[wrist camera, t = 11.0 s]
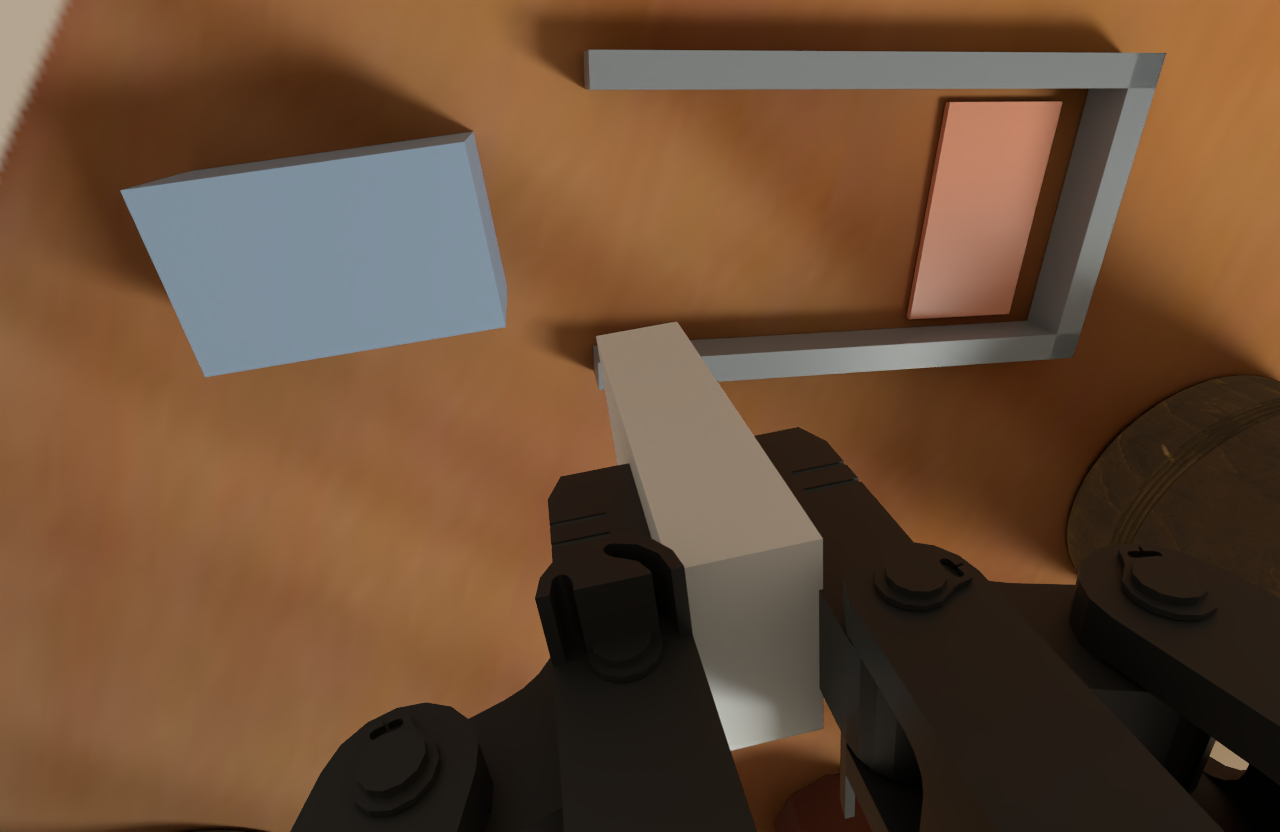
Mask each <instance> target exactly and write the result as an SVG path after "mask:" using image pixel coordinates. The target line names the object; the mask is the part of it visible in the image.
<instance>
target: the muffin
mask: <svg viewBox="0 0 1280 832" xmlns="http://www.w3.org/2000/svg"><path fill="white" fill-rule="evenodd" d="M774 825H775V830H776V832H873V831H872V829H871V827H870V825H869V823H868V821H867V819H866V817H865V815H864V812H863V810H862V808H861V806H860V804H859V802H858V800H857V798H856V796H855V816H854V817H850V818H846V819H845V817H844V813H843V809H842V805H841V800H840V774H836V775H825V776H823V777H822V778H820V779H819V780H817V781H816V782H814V783H813V784H811V785H809V786H808V787H806V788H804V789H802V790H800V791H798V792H796V793H793V794H791V795H790V797H789V799H788V801H787V803H786V805H785V807H784V809H783V810H782V811H781V812H780V814H779V815H778V816H777V817H776V819H775V820H774Z"/></svg>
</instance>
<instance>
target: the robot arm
mask: <svg viewBox="0 0 1280 832" xmlns="http://www.w3.org/2000/svg"><path fill="white" fill-rule="evenodd" d="M596 340H597V346H598V352H599V358H600V363H601V369H602V375H603V381H604V387H605V393H606V399H607V405H608V411H609V417H610V423H611V429H612V435H613V441H614V447H615V452H616V458H617V464H618V465H617V466H612V467H607V468H602V469H597V470H592V471H587V472H582V473H577V474H572V475H567V476H562V477H560V479H559V481H558V483H557V484H556V486H555V488H554V490H553V491H552V493H551V495H550V497H549V499H548V508H549V520H550V533H551V544H552V559H553V562H552V564H551V565H550V566H549V567H548V569H547V570H546V571H545V572H544V574H543V575H542V576H541V577H540V580H539V584H538V588H537V593H536V597H535V600H536V604H537V608H538V611H539V615H540V619H541V623H542V627H543V630H544V634H545V638H546V642H547V646H548V649H549V653H550V659H549V660H548V662H547V663H546V665H545V666H544V667H543V669H542V670H541V672H540V673H539V674H538V675H537V676H536V677H535V678H534V679H533V680H532V681H531V682H530V683H528V684H527V685H526V686H525V687H524V688H523V689H521V690H520V691H518V692H517V693H515V694H514V695H512V696H510V697H509V698H507V699H506V700H504V701H502V702H500V703H498V704H496V705H495V706H493V707H491V708H489V709H487V710H485V711H483V712H481V713H479V714H477V715H475V716H473V717H471V718H470V719H467V718H466V717H465V716H463V715H462V714H460V713H459V712H458V711H456V710H455V709H454V708H452V707H450V706H444V705H438V704H432V703H421V704H416V705H411V706H405V707H400V708H396V709H394V710H392V711H390V712H388V713H386V714H384V715H382V716H380V717H378V718H376V719H374V720H372V721H370V722H368V723H366V724H365V725H364V726H363V727H362V728H360V729H359V730H358V731H357V732H356V733H355V734H353V735H352V736H351V737H350V738H349V739H347V740H346V741H345V742H344V743H343V744H341V746H340V747H339V748H338V750H337V751H336V752H335V754H334V755H333V757H332V758H331V759H330V761H329V762H328V764H327V765H326V766H325V768H324V769H323V771H322V772H321V774H320V776H319V777H318V779H317V781H316V783H315V785H314V787H313V789H312V791H311V793H310V795H309V797H308V799H307V801H306V802H305V804H304V806H303V808H302V810H301V812H300V814H299V816H298V818H297V820H296V822H295V824H294V826H293V827H292V829H291V831H290V832H757V831H756V828H755V825H754V822H753V819H752V816H751V813H750V810H749V806H748V803H747V800H746V797H745V794H744V791H743V788H742V785H741V782H740V779H739V776H738V773H737V769H736V766H735V763H734V760H733V757H732V754H731V751H732V750H736V749H740V748H744V747H748V746H752V745H757V744H761V743H765V742H769V741H773V740H778V739H782V738H786V737H790V736H794V735H798V734H803V733H807V732H811V731H815V730H819V729H823V696H824V698H825V700H826V702H827V704H828V706H829V708H830V710H831V712H832V714H833V716H834V718H835V720H836V722H837V724H838V726H839V728H840V730H841V757H840V800H841V805H842V809H843V813H844V817H845V819H846V818H850V817H854V816H855V796H856V798H857V800H858V802H859V804H860V806H861V808H862V810H863V812H864V815H865V817H866V819H867V821H868V823H869V825H870V827H871V829H872V831H873V832H1280V598H1278V597H1276V596H1274V595H1272V594H1271V593H1269V592H1267V591H1265V590H1263V589H1261V588H1259V587H1257V586H1255V585H1253V584H1251V583H1249V582H1247V581H1245V580H1243V579H1241V578H1239V577H1238V576H1236V575H1234V574H1232V573H1230V572H1228V571H1226V570H1224V569H1222V568H1220V567H1218V566H1216V565H1214V564H1212V563H1209V562H1207V561H1204V560H1202V559H1199V558H1197V557H1194V556H1192V555H1189V554H1187V553H1184V552H1182V551H1178V550H1173V549H1168V548H1164V547H1159V546H1154V545H1149V544H1115V545H1111V546H1107V547H1103V548H1100V549H1096V550H1094V551H1093V552H1091V553H1090V554H1089V555H1088V556H1087V557H1086V558H1084V559H1083V560H1082V561H1081V563H1080V567H1079V572H1078V576H1077V581H1076V585H1060V584H1021V583H1003V582H993V581H988V580H987V579H986V578H985V577H984V576H983V574H982V573H981V572H980V571H979V570H977V569H976V568H975V567H973V566H972V565H971V564H969V563H968V562H967V561H965V560H964V559H963V558H962V557H960V556H959V555H956V554H954V553H951V552H949V551H946V550H944V549H941V548H939V547H936V546H934V545H927V544H921V543H914V542H913V541H912V540H911V539H910V538H909V536H908V535H907V534H906V533H905V532H904V531H903V529H902V528H901V527H900V526H899V525H898V524H897V523H896V521H895V520H894V519H893V518H892V517H891V516H890V514H889V513H888V512H887V511H886V510H885V509H884V507H883V506H882V505H881V504H880V503H879V502H878V501H877V499H876V498H875V497H874V496H873V495H872V494H871V492H870V491H869V490H868V489H867V488H866V487H865V485H864V484H863V483H862V482H858V477H857V476H856V475H855V474H854V473H853V472H852V470H851V469H850V468H849V467H848V466H847V465H844V462H843V460H842V459H841V458H840V456H839V455H838V454H837V453H836V452H835V451H834V450H833V448H832V447H831V446H830V445H829V444H828V443H827V441H825V440H823V439H821V438H819V437H817V436H815V435H813V434H811V433H809V432H807V431H805V430H803V429H801V428H799V427H797V428H792V429H787V430H782V431H777V432H772V433H767V434H762V435H757V436H754V435H753V434H752V432H751V431H750V429H749V428H748V426H747V425H746V423H745V422H744V420H743V419H742V417H741V416H740V414H739V413H738V411H737V410H736V408H735V407H734V405H733V404H732V402H731V401H730V400H729V398H728V397H727V395H726V394H725V392H724V391H723V389H722V388H721V386H720V385H719V383H718V382H717V380H716V379H715V377H714V376H713V374H712V373H711V371H710V370H709V368H708V367H707V365H706V364H705V362H704V361H703V359H702V358H701V356H700V355H699V353H698V352H697V350H696V349H695V347H694V346H693V344H692V343H691V341H690V340H689V338H688V337H687V336H686V334H685V333H684V331H683V330H682V328H681V327H680V325H679V324H678V322H672V323H666V324H660V325H655V326H649V327H644V328H638V329H633V330H627V331H622V332H616V333H611V334H605V335H599V336H596ZM1216 740H1217V741H1218V742H1220V743H1221V744H1222V745H1224V746H1225V747H1227V748H1228V749H1229V750H1231V751H1232V752H1234V753H1235V754H1236V755H1238V756H1239V757H1241V758H1242V759H1243V760H1245V761H1246V762H1248V763H1249V766H1248V768H1247V770H1237V769H1234V768H1231V767H1228V766H1225V765H1223V764H1221V763H1220V762H1218V761H1216V760H1215V759H1213V758H1211V757H1210V756H1209V755H1210V753H1211V750H1212V748H1213V746H1214V743H1215V741H1216ZM195 832H244V831H230V830H210V831H195Z"/></svg>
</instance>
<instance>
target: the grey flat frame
mask: <svg viewBox="0 0 1280 832" xmlns="http://www.w3.org/2000/svg"><path fill="white" fill-rule="evenodd" d="M1165 56H1166V53H1068V52H900V51H733V50H587V51H584V52H583V57H584V87H585V89H588V90H673V89H1044V88H1089V91H1088V94H1087V98H1086V102H1085V106H1084V109H1083V113H1082V117H1081V121H1080V124H1079V128H1078V132H1077V136H1076V139H1075V143H1074V147H1073V151H1072V154H1071V158H1070V162H1069V166H1068V169H1067V173H1066V177H1065V181H1064V184H1063V188H1062V192H1061V196H1060V199H1059V203H1058V207H1057V211H1056V214H1055V218H1054V222H1053V226H1052V229H1051V233H1050V237H1049V241H1048V244H1047V248H1046V252H1045V256H1044V259H1043V263H1042V267H1041V271H1040V274H1039V278H1038V282H1037V286H1036V289H1035V293H1034V297H1033V301H1032V304H1031V308H1030V312H1029V315H1028V319H1027V321H1011V322H994V323H976V324H959V325H942V326H925V327H908V328H890V329H873V330H856V331H839V332H821V333H804V334H787V335H770V336H753V337H735V338H718V339H701V340H690V341H691V343H692V344H693V346H694V347H695V349H696V350H697V352H698V353H699V355H700V356H701V358H702V359H703V361H704V362H705V364H706V365H707V367H708V368H709V370H710V371H711V373H712V374H713V376H714V377H715V379H716V380H717V382H721V381H736V380H751V379H766V378H781V377H795V376H810V375H825V374H840V373H854V372H869V371H884V370H899V369H914V368H928V367H943V366H958V365H973V364H987V363H1002V362H1017V361H1032V360H1047V359H1061V358H1073V356H1074V353H1075V349H1076V346H1077V343H1078V340H1079V336H1080V333H1081V330H1082V327H1083V323H1084V320H1085V317H1086V314H1087V310H1088V307H1089V304H1090V300H1091V297H1092V294H1093V291H1094V287H1095V284H1096V281H1097V278H1098V274H1099V271H1100V268H1101V265H1102V261H1103V258H1104V255H1105V252H1106V248H1107V245H1108V242H1109V238H1110V235H1111V232H1112V229H1113V225H1114V222H1115V219H1116V216H1117V212H1118V209H1119V206H1120V203H1121V199H1122V196H1123V193H1124V189H1125V186H1126V183H1127V180H1128V176H1129V173H1130V170H1131V167H1132V163H1133V160H1134V157H1135V154H1136V150H1137V147H1138V144H1139V141H1140V137H1141V134H1142V131H1143V127H1144V124H1145V121H1146V118H1147V114H1148V111H1149V108H1150V105H1151V101H1152V98H1153V95H1154V92H1155V88H1156V85H1157V82H1158V79H1159V75H1160V72H1161V69H1162V65H1163V62H1164V59H1165ZM1062 103H1063V102H1062V101H1026V102H946V104H945V110H944V115H943V120H942V126H941V131H940V137H939V142H938V148H937V153H936V159H935V164H934V170H933V175H932V181H931V186H930V191H929V197H928V202H927V208H926V213H925V219H924V224H923V230H922V235H921V241H920V246H919V252H918V257H917V262H916V268H915V273H914V279H913V284H912V290H911V295H910V301H909V306H908V312H907V318H908V319H925V318H943V317H961V316H979V315H996V314H1009V312H1010V308H1011V304H1012V300H1013V296H1014V292H1015V288H1016V284H1017V281H1018V277H1019V273H1020V269H1021V265H1022V261H1023V257H1024V253H1025V249H1026V245H1027V241H1028V237H1029V233H1030V229H1031V225H1032V221H1033V217H1034V213H1035V209H1036V205H1037V202H1038V198H1039V194H1040V190H1041V186H1042V182H1043V178H1044V174H1045V170H1046V166H1047V162H1048V158H1049V154H1050V150H1051V146H1052V142H1053V138H1054V134H1055V130H1056V126H1057V123H1058V119H1059V115H1060V111H1061V107H1062ZM593 355H594V373H595V377H596V381H597V384H598V388H599V390H603V389H605V387H604V381H603V375H602V369H601V363H600V358H599V352H598V346H593Z"/></svg>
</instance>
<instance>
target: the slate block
mask: <svg viewBox="0 0 1280 832" xmlns="http://www.w3.org/2000/svg"><path fill="white" fill-rule="evenodd" d="M120 191H121V194H122V196H123V198H124V200H125V202H126V205H127V207H128V209H129V211H130V213H131V216H132V218H133V220H134V222H135V224H136V226H137V229H138V231H139V233H140V235H141V237H142V240H143V242H144V244H145V246H146V248H147V251H148V253H149V255H150V257H151V259H152V262H153V264H154V266H155V268H156V270H157V272H158V275H159V277H160V279H161V281H162V283H163V286H164V288H165V290H166V292H167V294H168V297H169V299H170V301H171V303H172V305H173V308H174V310H175V312H176V314H177V316H178V318H179V321H180V323H181V325H182V327H183V329H184V332H185V334H186V336H187V338H188V340H189V343H190V345H191V347H192V349H193V351H194V354H195V356H196V358H197V360H198V362H199V365H200V367H201V369H202V371H203V373H204V375H205V377H209V376H215V375H221V374H227V373H233V372H239V371H245V370H251V369H257V368H263V367H269V366H275V365H281V364H287V363H293V362H299V361H305V360H311V359H317V358H323V357H329V356H335V355H341V354H347V353H353V352H359V351H365V350H371V349H377V348H383V347H389V346H395V345H401V344H407V343H413V342H419V341H425V340H431V339H437V338H443V337H449V336H455V335H461V334H467V333H473V332H479V331H485V330H491V329H497V328H503V327H506V308H507V285H506V280H505V276H504V271H503V266H502V262H501V257H500V253H499V248H498V243H497V239H496V234H495V229H494V225H493V220H492V215H491V211H490V206H489V202H488V197H487V192H486V188H485V183H484V178H483V174H482V169H481V165H480V160H479V155H478V151H477V146H476V141H475V137H474V132H465V133H458V134H451V135H444V136H437V137H430V138H423V139H416V140H408V141H401V142H394V143H387V144H380V145H373V146H366V147H358V148H351V149H344V150H337V151H330V152H323V153H316V154H309V155H301V156H294V157H287V158H280V159H273V160H266V161H259V162H251V163H244V164H237V165H230V166H223V167H216V168H209V169H202V170H194V171H189V172H185V173H181V174H178V175H174V176H171V177H167V178H163V179H160V180H156V181H152V182H149V183H145V184H141V185H138V186H134V187H130V188H127V189H123V190H120Z"/></svg>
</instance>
